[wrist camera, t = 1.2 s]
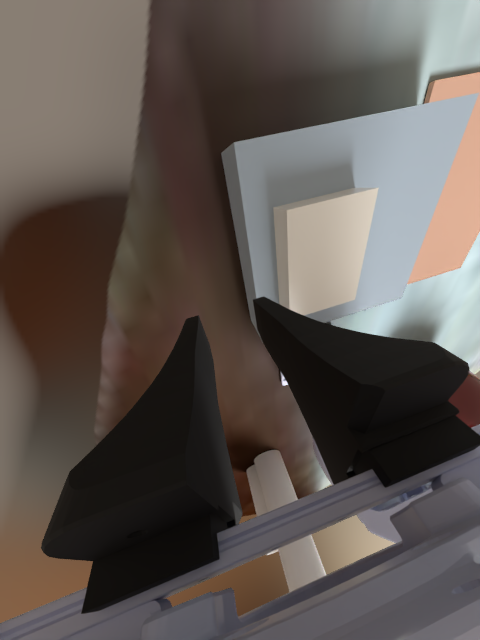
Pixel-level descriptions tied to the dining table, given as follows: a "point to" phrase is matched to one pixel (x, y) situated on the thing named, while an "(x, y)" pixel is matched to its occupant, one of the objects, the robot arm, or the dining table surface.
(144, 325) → the dining table surface
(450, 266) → the mat
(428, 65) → the dining table surface
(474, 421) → the round-bottom flask
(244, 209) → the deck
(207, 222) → the dining table surface
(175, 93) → the dining table surface
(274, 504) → the white tall block
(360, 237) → the tile
